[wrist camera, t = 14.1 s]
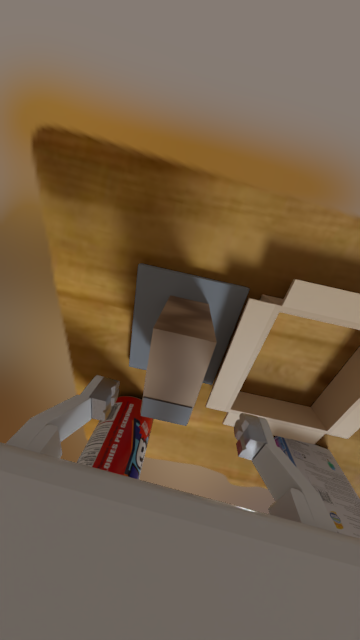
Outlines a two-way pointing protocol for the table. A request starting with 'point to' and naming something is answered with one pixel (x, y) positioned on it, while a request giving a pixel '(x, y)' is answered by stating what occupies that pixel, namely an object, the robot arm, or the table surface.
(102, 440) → the soda can
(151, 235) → the table surface
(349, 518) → the ink cartridge box
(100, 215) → the table surface
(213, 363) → the mat
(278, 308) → the beige hollow square frame
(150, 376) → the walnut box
